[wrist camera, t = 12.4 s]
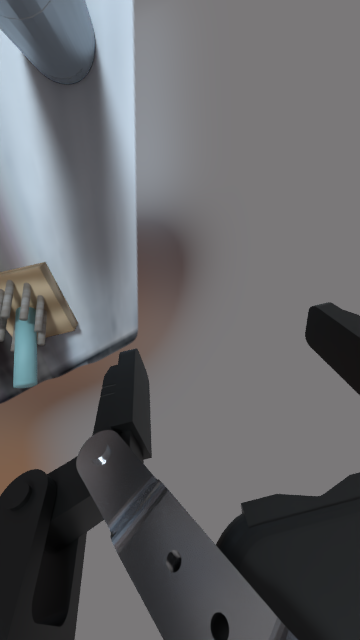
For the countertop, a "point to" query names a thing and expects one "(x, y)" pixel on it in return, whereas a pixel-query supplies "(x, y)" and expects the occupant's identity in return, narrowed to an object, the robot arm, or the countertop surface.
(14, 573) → the robot arm
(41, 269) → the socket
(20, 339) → the peg
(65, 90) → the countertop surface
